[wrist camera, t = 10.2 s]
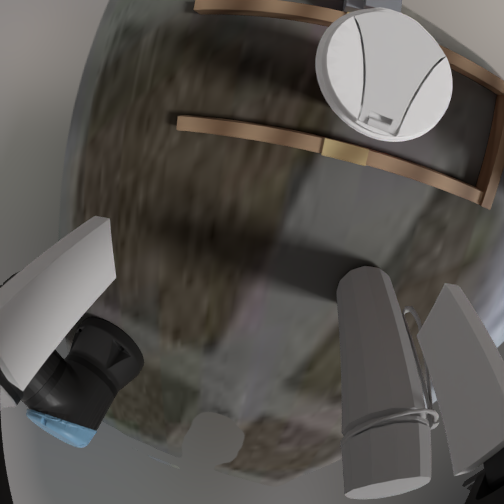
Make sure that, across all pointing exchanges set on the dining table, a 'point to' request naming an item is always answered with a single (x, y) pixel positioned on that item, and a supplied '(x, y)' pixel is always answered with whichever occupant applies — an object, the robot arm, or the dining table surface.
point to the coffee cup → (383, 74)
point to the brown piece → (496, 156)
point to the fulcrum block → (371, 5)
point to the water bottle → (381, 391)
